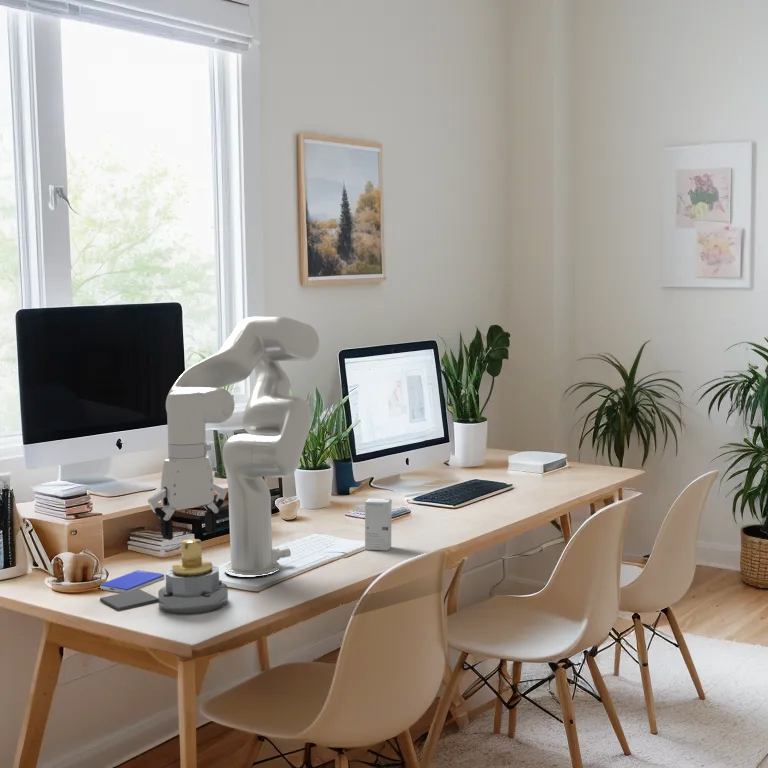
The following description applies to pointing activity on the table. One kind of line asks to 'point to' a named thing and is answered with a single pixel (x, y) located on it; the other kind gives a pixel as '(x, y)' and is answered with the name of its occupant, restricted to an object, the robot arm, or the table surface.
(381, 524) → the skincare box
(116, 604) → the mat
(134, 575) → the hard drive
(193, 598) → the housing
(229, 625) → the table surface
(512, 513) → the table surface
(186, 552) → the brass flanged shaft
